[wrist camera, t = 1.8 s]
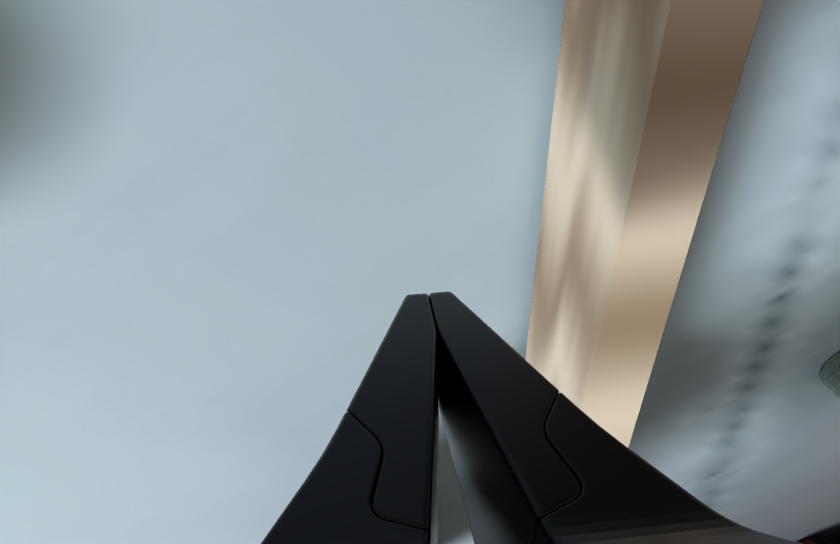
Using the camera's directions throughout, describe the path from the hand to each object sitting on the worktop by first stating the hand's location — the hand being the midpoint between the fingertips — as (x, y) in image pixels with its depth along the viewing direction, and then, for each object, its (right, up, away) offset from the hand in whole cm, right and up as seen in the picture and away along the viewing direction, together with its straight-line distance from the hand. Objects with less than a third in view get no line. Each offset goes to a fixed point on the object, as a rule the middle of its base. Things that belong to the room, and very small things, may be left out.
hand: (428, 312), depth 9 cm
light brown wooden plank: (+4, +3, +6) cm, 8 cm away
